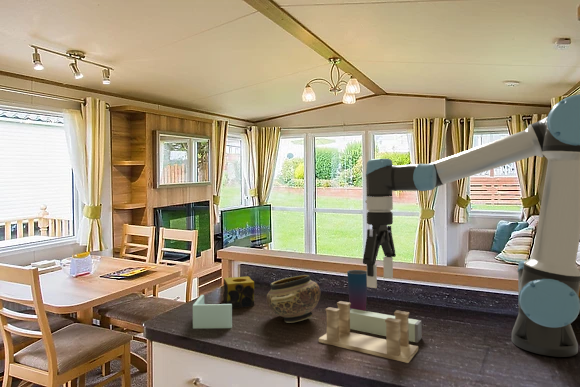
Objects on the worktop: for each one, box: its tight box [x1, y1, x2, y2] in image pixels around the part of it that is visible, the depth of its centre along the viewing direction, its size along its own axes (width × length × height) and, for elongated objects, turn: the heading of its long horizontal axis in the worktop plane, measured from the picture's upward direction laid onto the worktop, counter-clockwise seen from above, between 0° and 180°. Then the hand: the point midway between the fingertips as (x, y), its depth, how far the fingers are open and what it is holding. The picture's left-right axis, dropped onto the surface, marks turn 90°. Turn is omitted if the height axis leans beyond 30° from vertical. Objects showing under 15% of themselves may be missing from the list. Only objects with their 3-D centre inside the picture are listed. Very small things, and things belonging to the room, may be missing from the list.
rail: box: [350, 308, 423, 343], centre depth 114 cm, size 22×4×5 cm, turn 56°
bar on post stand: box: [318, 300, 419, 364], centre depth 104 cm, size 25×9×10 cm, turn 56°
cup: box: [346, 269, 368, 311], centre depth 129 cm, size 7×7×15 cm
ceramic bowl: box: [265, 274, 322, 324], centre depth 125 cm, size 24×18×15 cm
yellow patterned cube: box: [222, 275, 255, 309], centre depth 142 cm, size 10×10×10 cm
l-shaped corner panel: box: [192, 294, 233, 329], centre depth 125 cm, size 12×12×8 cm
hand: (380, 282), depth 114 cm, fingers open, 13 cm apart
